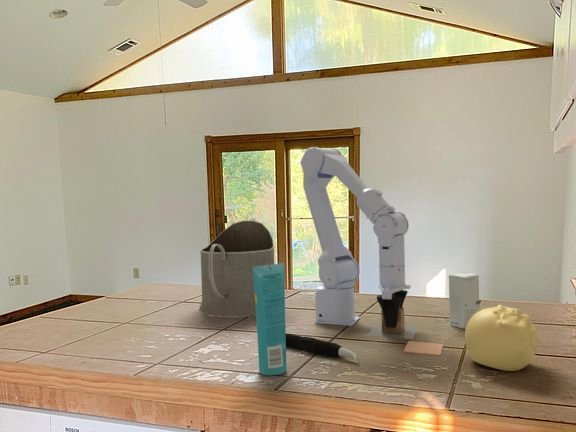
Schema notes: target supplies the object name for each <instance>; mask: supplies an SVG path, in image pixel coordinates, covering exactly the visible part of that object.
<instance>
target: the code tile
mask: <svg viewBox="0 0 576 432" xmlns="http://www.w3.org/2000/svg"><path fill="white" fill-rule="evenodd" d="M404 328H405V329H404V331H403V332H402V334H394V333H382V323H375V324H374V326H373V327H372V328H371V329H370V331H369V332H368V333H367V334H366V335H367V336H371V337H372V336H375V337H383V338H384V337H385V338H386V337H387V338H398V339H408V340H410V339H411V340H413V339H414V337H415V336H416V333H417V331H418V329H419V326H410V325H409V326H407V325H404Z"/></svg>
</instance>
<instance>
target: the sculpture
mask: <svg viewBox="0 0 576 432" xmlns="http://www.w3.org/2000/svg"><path fill="white" fill-rule="evenodd" d="M532 319H533V318H532V317H531V316H530V315H528V314H524V313H523V312H522V311H521V310H520V309H519V308H516V307H510V306H507V305H503V304H498V305H497V306H493V307H486V308H482V309H481V310H480V309H479V311H478V312H477V313H475V314H474V315H473V316H472V317H471V318H470V320H469V322H468V324H467V327H466V329H465V332H464V341H465V346H466V347H465V348H466V350H467V352H468V354H469V355H468V356H469V357H470V358H471V359H472V360H473V361H474V362H475V363H477V364H480V365H483V366H486V367H489V368H492V369H497V370H501V371H505V372H506V371H507V372H517V371H520V370H521V369H524V368H525V367H527V366H530V365H531V363H532V361H534V359H535V356H536V354H537V353H538V351H539V350H538V347H537V346H538V344H539V336H538V330H537V328H536V327H537V326H536V324H534V323H533V320H532Z"/></svg>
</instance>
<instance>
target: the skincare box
mask: <svg viewBox="0 0 576 432" xmlns="http://www.w3.org/2000/svg"><path fill="white" fill-rule="evenodd" d="M479 283H480V281H479V274H477V273H476V274H475V273H467V272H464V273H454V274H449V275H448V301H449V302H448V303H449V307H448V308H449V310H448V311H449V326H451V327H455V328H458V329H459V328H460V329H464V330H466V327H467V324H468V322H469V320H470V318H471V317H472V316H473V315H474V314H475V313H477V312H478V311H480V284H479Z"/></svg>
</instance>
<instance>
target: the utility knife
mask: <svg viewBox="0 0 576 432" xmlns="http://www.w3.org/2000/svg"><path fill="white" fill-rule="evenodd" d="M285 333H286V348H291V349H295V350H297V351H298V350H299V351H303V352H307V353H311V354H315V355H320V356H325V357H328V358H332V359H333V358H334V359H335V358H341V357H344V358H351V359H354V361H355V360H357V359H358V358H357V357H358V356H357V353H355V352H353V351H351V350H350V349H347V348H344V347H342V345H340V344H339V343H337V342H330V341H326V340H323V339H318V338H316V337H311V336H302V335H298V334H297V335H296V334H291V333H287V332H285Z"/></svg>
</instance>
